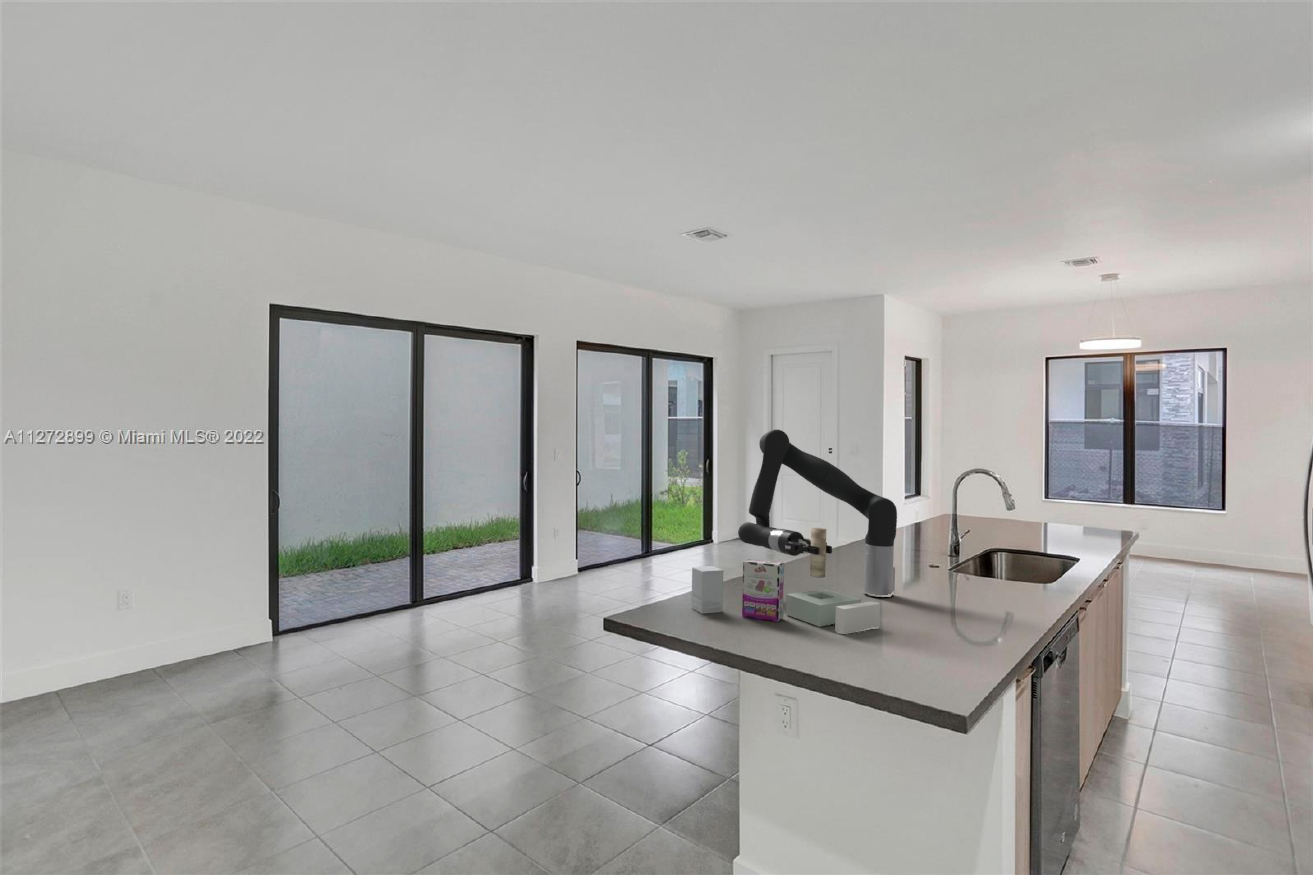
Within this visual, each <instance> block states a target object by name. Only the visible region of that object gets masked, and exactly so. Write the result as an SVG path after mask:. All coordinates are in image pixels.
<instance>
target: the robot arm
mask: <svg viewBox="0 0 1313 875" xmlns="http://www.w3.org/2000/svg"><path fill="white" fill-rule="evenodd" d="M759 448H760V451H761V453H762V454H763V455H762V462H761V468H760V471H759V473H758V476H757V478H756V482H755V484H754V488H753V491H752V493H751V494H752V495H751V497H750V498H751V499H750V503H749V508H748V514H750V515H751V516H753V517H754V518H755V522H756V523H754V522H751V521H747V522H744V523H742V524H741V525H740V527H739V528H738V532H737V535H738V538H739V539H740V540H741V542H743V543H744V544H749V545H753V546H757V547H762V548H765V549H769V550H772V551H776V552H777V553H781V554H784V555H789V556H792V557H796V556H799V555H801V554H810V555H811V554H815V555H819V552H820V548H819V547H816V546H811V539H810V538H805V537H804V535H803V534H802V533H801V532H800V531H796V530H795V531H794V530H789V529H785V528H777V527H772V526H770V525H771V524H770V522H771V520H770V519H771V518H770V514H771V513H770V512H771V509H772V504H773V500H774V496H775V489H776V486H777V481H778V476H779V473H780V471H781V468H782V465H784V466H786V467H788V468H789V469H791V470H792V471H794V472H795V473H796V474H798V476H801V477H802V478H803V479H804V480H806V481H807V482H809V483H810V484H812V485H813V486H815V487H816V488H818V489H820V490H821V491H823V492H825V493H826V494H828V495H829V496H832V497H833V498H835V499H838V500H840V501H842V502H843V503H846V504H848V505H849V506H851V507H852V508H854V509H855V510H857V512H858V513H860V514H861V515H862V516H864V517H865V518H866V519H867V520H868V525H867V526H868V528H867V533H866V535H865V538H864V539H865V540H864V542H865V543H864V571H863V572H864V576H863V577H864V579H863V580H864V581H863V582H864V583H863V592H864V591H865V592H867V593H870V594H875V595H888V594H891V593H892V592H893V591H894V592H896V591H895V588H896V587H895V582H896V568H895V567H894V552H895V551H894V550H895V549H894V548H895V545H894V544H895V539H896V537H897V525H898V524H897V523H898V510H897V507H896V506H897V505H896V504H895V503H894V502H893V500H891V499H889V498H886V497H884V496H880V495H879V494H876V493H874V492H871V491H870V490H867V489H866V488H864V487H863V486H861V485H859V484H858V483H857V482H856V481H854V480H853V479H852V478H851V476H849V475H848V474H846V473H845V472H844V471H843V470H841V469H840V468H838V467H837V466H835V465H833V464H831V462H829V461H827V460H825V459H823V458H820V457H818V456H816V455H813V454H810V453H808V452H806V451H803V450H801V449H800V448H799V447H797V446H795V445H794V444H792V443H791V442H790V438H789V435H788V434H787V433H786V432H785V431H784V430H782V429H772V430H769V431H767V432H766V433H764V434H763V435H762V436H761V437H760V439H759ZM832 553H833V546H832V545H828V543H827V542H826V554H829V555H830V554H832Z"/></svg>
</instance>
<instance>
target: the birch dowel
mask: <svg viewBox="0 0 1313 875" xmlns="http://www.w3.org/2000/svg"><path fill="white" fill-rule="evenodd" d="M810 540H811V546H816V547H819V548H820V552H819V555H815V554H811V553H810V561H809V576H810V577H811V578H816V579H817V578H819V579H822V578H826V566H827V565H826V560H827V559H826V558H827V556H826V554H827V553H826V543H827V528H825V527H824V528H823V527H811V528H810Z"/></svg>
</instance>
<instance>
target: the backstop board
mask: <svg viewBox="0 0 1313 875" xmlns="http://www.w3.org/2000/svg"><path fill="white" fill-rule="evenodd" d="M880 622H881V603H880V602H876V601H872V600H871V601H864V602H861V603H856V604H850V605H843V606H836V619H835V624H834V625H835V626H834V628H835V629H834V632H835V631H836V632H840V633H842V634H845V633H849V632H856V631H860V630H864V629H867V628H871V627H878V626H881V625H880ZM836 632H835V633H836Z"/></svg>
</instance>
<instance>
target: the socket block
mask: <svg viewBox="0 0 1313 875" xmlns="http://www.w3.org/2000/svg"><path fill="white" fill-rule="evenodd" d="M785 595H786V596H785V615H786V616H789V617H791V618H795V619H797V620H799V621H803V622H806V623H809V624H811V625H813V626H816V627H819V628H821V627H826V625H827V626H831V625H830V624H833V625H835V624H834V623H835V619H836V606H843V605H850V604H856V603H862V599H861V598H858V597H854V596H851V595H847V594H843V593H841V592H837V591H835V590H831V589H827V588H824V589H815V590H807V591H800V592H792V593H785Z"/></svg>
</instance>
